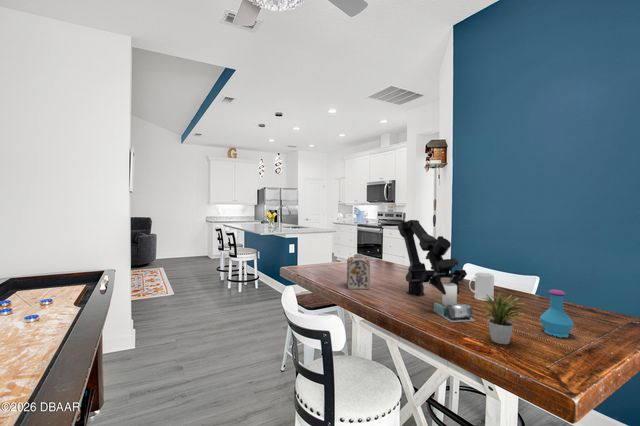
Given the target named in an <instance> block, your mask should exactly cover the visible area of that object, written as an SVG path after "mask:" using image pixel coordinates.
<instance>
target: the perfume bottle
mask: <svg viewBox="0 0 640 426" xmlns="http://www.w3.org/2000/svg"><path fill="white" fill-rule="evenodd" d="M548 293H549V295H550V301H549V303H550V305H549V306H550V307H549V308H548V309H546V311H545V312H543V313H542V314H541V315H540V318H539V320H540V323H541V324H542V328H544V329H543V330H544V331H543V332H544V333H545V334H547V335H549V336H552V335H553V336H552V337H556V336H557V337H556V338H562V337H566V338H569V334H570V333H571V332H572V330H573V327H574V321H573V320H572V319H571V318H570V316H569V315H568V314H567V313H566V311H565V310H564V297H565V295H566V292H565V291H563V290H560V289H550V290H548Z"/></svg>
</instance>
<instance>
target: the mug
mask: <svg viewBox="0 0 640 426" xmlns="http://www.w3.org/2000/svg"><path fill="white" fill-rule="evenodd" d="M473 280H474V290H473V289H472V287H471V283H472V281H473ZM494 283H495V275H494V274H493V273H489V272H480V271H479V272H478V271H477V272H474V276H473V277H471V279H470V280H469V283H468V288H469V290H470V291H471V292H472V293H474V296H473V298H474V299H475V300H478V301H482V302H486V301H487V302H489V301H488V300H487V298H488V297H487V295H488V296H489V295H490V296H489V297H490V298H491V299H492V300H493V302H494V301H495V300H494V298H495V297H494V294H495V293H494V291H495V288H494V287H495V286H494V285H495V284H494ZM486 294H487V295H486ZM486 297H487V298H486ZM493 297H494V298H493ZM483 298H485V299H483ZM488 299H489V298H488Z"/></svg>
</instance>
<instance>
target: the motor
mask: <svg viewBox="0 0 640 426" xmlns="http://www.w3.org/2000/svg"><path fill="white" fill-rule="evenodd" d="M432 311H433V312H434V313H436V314H437V315H439V316H441V317H442V318H444V319H446V320H447V321H449V322H450V323H461V322H462V323H463V322H464V323H465V322H475V319H474V318H472V317H473V315H474V314H473V312H474V311H473V309H472V306H471V305H470V304H469V303H467V304H460V303H458V302H457V305H447V307H446V308H445V307H444V306H442V304H440V303H438V302H434V303H433V309H432Z"/></svg>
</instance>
